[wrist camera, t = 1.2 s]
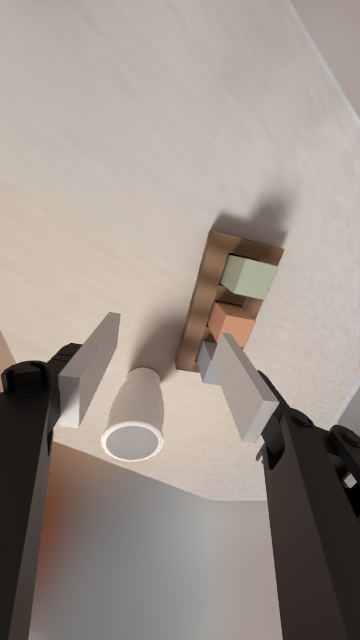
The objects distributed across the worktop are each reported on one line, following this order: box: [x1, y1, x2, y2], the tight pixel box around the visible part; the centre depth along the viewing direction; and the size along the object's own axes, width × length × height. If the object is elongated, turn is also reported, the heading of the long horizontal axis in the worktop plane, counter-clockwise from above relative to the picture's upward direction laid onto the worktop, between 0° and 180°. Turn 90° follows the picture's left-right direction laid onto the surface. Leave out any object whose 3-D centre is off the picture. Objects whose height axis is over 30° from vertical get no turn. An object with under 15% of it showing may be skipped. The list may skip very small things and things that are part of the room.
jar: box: [101, 367, 164, 462], centre depth 37 cm, size 11×10×15 cm
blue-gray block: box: [196, 339, 220, 385], centre depth 36 cm, size 5×5×8 cm
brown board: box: [175, 230, 284, 373], centre depth 37 cm, size 28×13×3 cm, turn 167°
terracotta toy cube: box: [207, 301, 256, 348], centre depth 33 cm, size 5×5×8 cm
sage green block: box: [220, 255, 278, 300], centre depth 30 cm, size 5×5×8 cm
